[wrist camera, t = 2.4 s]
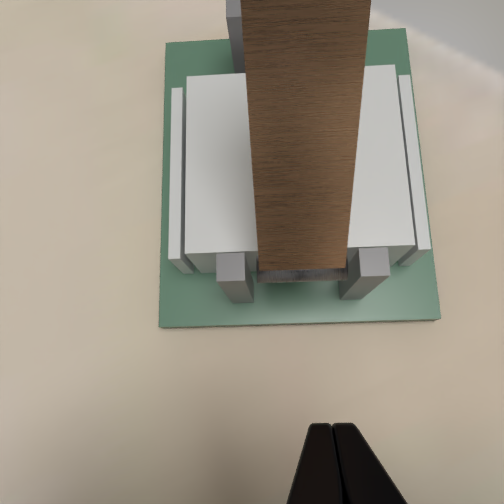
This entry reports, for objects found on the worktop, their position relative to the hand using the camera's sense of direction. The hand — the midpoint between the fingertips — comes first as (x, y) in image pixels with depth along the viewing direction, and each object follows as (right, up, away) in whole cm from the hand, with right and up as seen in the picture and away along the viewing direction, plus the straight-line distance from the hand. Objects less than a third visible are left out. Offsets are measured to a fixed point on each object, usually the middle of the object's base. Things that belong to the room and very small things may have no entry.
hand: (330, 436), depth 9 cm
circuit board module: (0, +7, +15) cm, 17 cm away
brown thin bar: (0, +3, +8) cm, 8 cm away
